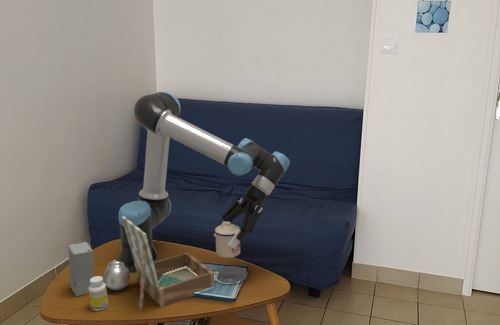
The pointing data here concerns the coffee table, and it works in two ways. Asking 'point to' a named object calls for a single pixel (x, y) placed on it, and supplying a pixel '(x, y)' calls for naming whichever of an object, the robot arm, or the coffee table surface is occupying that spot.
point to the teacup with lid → (226, 240)
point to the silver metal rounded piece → (116, 275)
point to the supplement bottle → (98, 293)
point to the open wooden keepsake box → (164, 270)
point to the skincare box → (80, 267)
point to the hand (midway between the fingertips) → (223, 242)
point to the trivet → (231, 274)
